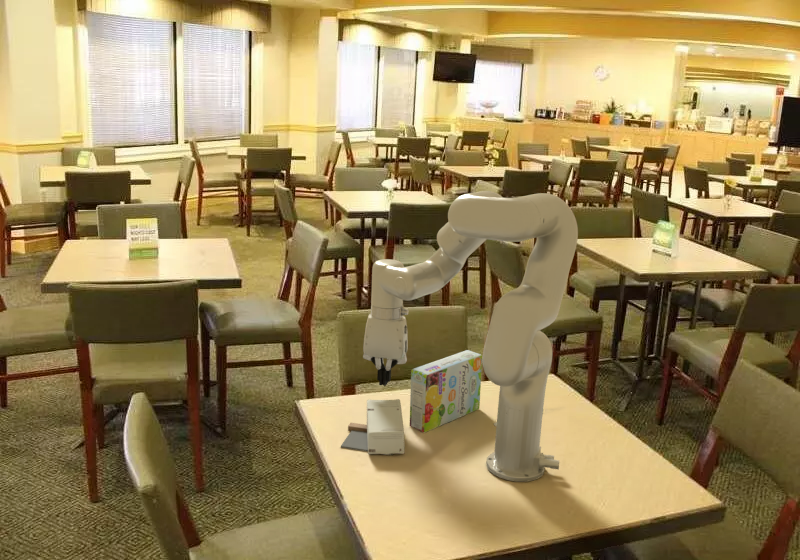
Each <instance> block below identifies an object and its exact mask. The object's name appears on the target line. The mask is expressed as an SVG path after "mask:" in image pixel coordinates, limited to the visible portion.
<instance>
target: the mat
mask: <svg viewBox="0 0 800 560" xmlns="http://www.w3.org/2000/svg"><path fill="white" fill-rule="evenodd" d="M340 448H341V449H342V448H343V449H349V450H356V451H360V452H361V451H362V452H367V453H368V438H367V432H363V431H356V430H352V431H349V434H348V435H347V436H346V437H345V439H344V441H343V442H342V444H341V445H340ZM385 455H387V456H393V455H394V453H391V454H385Z"/></svg>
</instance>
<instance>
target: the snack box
mask: <svg viewBox="0 0 800 560" xmlns="http://www.w3.org/2000/svg"><path fill="white" fill-rule="evenodd" d="M482 358H483V354H481V353H478V352H475V351H472V350H468V349H466V350H464V351H460V352H457V353H455V354H452V355H449V356H446V357H444V358H440V359H437V360H435V361H432V362H429V363H426V364H423V365H420V366H417V367H415V368H412V369H411V370H410V371H411V372H410V400H409V401H410V402H409V403H410V404H409V405H410V406H409V427H410V428H413V429H416V430H418V431H419V432H422V433H424V434H425V433H427V432H429V431H431V430H434V429H436V428H438V427H441V426H443V425H445V424H447V423H450V422H452V421H454V420H457V419H459V418H461V417H463V416H466V415H468V414H471V413H473V412H475V411H477V410H480V404H481V402H480V401H481V385H482V384H481V383H482V367H483V363H482Z"/></svg>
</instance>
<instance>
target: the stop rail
mask: <svg viewBox="0 0 800 560" xmlns="http://www.w3.org/2000/svg"><path fill="white" fill-rule="evenodd" d="M352 430H356V431H363V432H367V424H365V423H364V424H363V423H356V422H350V423H349V424H348V426H347V431H349V432H351V431H352Z"/></svg>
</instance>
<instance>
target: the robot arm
mask: <svg viewBox="0 0 800 560" xmlns="http://www.w3.org/2000/svg"><path fill="white" fill-rule="evenodd" d="M447 219H448V222H446V223H445V224H444V225H443V226H442V227H441V228H440V229H439V230H438V232H437V234H436V242H437V245H438V246H439V248H438V249H437V250H436V251H435V252H434V253H433V254H432V255H431V256H430V257H429V258H428V259H426V260H425V261H424V262H420V263H419V262H418V263H416V264H412V265H408V266H404V263H402V262H401V261H399V260H396V259H389V258H386V259H379V260H376V261H375V262H373V264H372V269H371V273H372V274H371V295H370V296H371V300H370V303H371V304H370V313H369V314H368V316H367V320H366V323H365V330H364V331H365V332H364V336H363V337H364V338H363V355H362V358H363V359H364V360H366V361H367V360H368V361H371V363H372V364H373V365H374V366H375V368H376V369H377V377H376V378H377V381H378V385H379V386H384V387H386V386H387V384H388V383H389V382H391V379H392V368H394V367H395V366H397V365H404V364H405V365H406V363H407V361H408V358H407V353H408V349H409V348H408V325H407V324H408V323H407V319H406V318H407V317H406V316H407V315H409V312H410V311H409V308H405V306H404V301H413V300H416V299H419V298H421V297H425V296H427V295H431V294H433V293H436V292H438V291H440V290H441V289H442V288H444V287H445V286H446V285H447V284H448V283H449V282H450V281H451V280H453V278H455V277H456V276H457V275H458V274H459V273H460V271H461V270H462V269H463V267H464V265H465V263H466V261H467V259H468V258H469V256H470V255H471V254H472V253H474V252H476V250H477V249H478V248H479V247H481V245H482V244H484V243H485V242H486V241H487V240H488V241H489V240H492V241H501V242H511V243H512V242H513V243H515V242H517V243H518V242H519V243H520V242H525V241H528V240H532V239H535V238H536V241H535V244H534V246H533V249H532V250H531V251H530V252H531V253H530V254H529V256H528V260H527V263H526V266H525V267H526V268H525V272H524V276H523V278H522V281H521V283H520V285H519V286H518V287H516V288H514V289H511V290H509V291H507V292H506V293H504V294H503V295H502V296H501V297H500V298H499V299H498V301H497V302H496V305H495V306H494V307H493V311H492V314H491V317H490V322H489V326H488V331H487V335H486V338H485V343H484V347H483V352H482V367H483V371H484V374H485V375H486V377H487V378H488V380H489V381H491V383H493V384H494V385H496V386H499V392H498V393H499V394H498V402H497V403H498V404H497V405H498V406H497V415H496V417H497V418H496V422H497V427H496V426H495V427H496V429H495V440H494V441H495V442H494V451H493V452H492V453H490V454H489V455H488V456H487V457H486V464H485V466H486V468H487V469H488V470H489V472H490V473H491V474H493V475H494V476H496V477H498V478H500V479H503V480H507V481H509V482H518V483H519V482H525V483H526V482H531V481H535V480H537V479H540V478H541V477H542V476H543V475H544V474H545V468H547V469H553V470H559V469H560V460H558V459H555V455H553V454H544V452H542V446H540V445H541V437H542V436H541V435H542V425H543V414H544V405H545V397H546V388H547V382H548V377H549V373H550V371H551V366H552V360H553V347H552V343H551V341H550V339H549V337H548V336H547V335H546V334H545V333H544V332H543V331H541V330H543V329H545V328H547V327H549V326H550V325H551V324H553V323H554V322H555V321H556V319H557V317H559V316H558V315H559V313H560V310H561V309H560V308H561V305H562V301H563V297H564V294H565V290H566V287H567V283H568V278H569V273H570V269H571V266H572V263H573V259H574V256H575V252H576V250H577V245H578V236H579V229H578V227H579V226H578V222H577V219H576V217H575V214H574V212H573V211H572V209H571V208H570V206H569V205H568V203H566V202H565V200H563V199H562V198H561V197H559V196H557V195H554V194H552V193H545V192H543V193H541V192H539V193H534V194H528V195H523V196H518V197H503V196H502V195H501V194H499V193H498V192H495V191H491V190H480V191H477V192H476V191H474V192H469V193H464V194H462V195H459V196H458V197H456V198H455V199H454V200H453V201H452V202H451V204H450V206H449V209H448V211H447ZM405 315H406V316H405ZM384 359H386V363H384Z"/></svg>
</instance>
